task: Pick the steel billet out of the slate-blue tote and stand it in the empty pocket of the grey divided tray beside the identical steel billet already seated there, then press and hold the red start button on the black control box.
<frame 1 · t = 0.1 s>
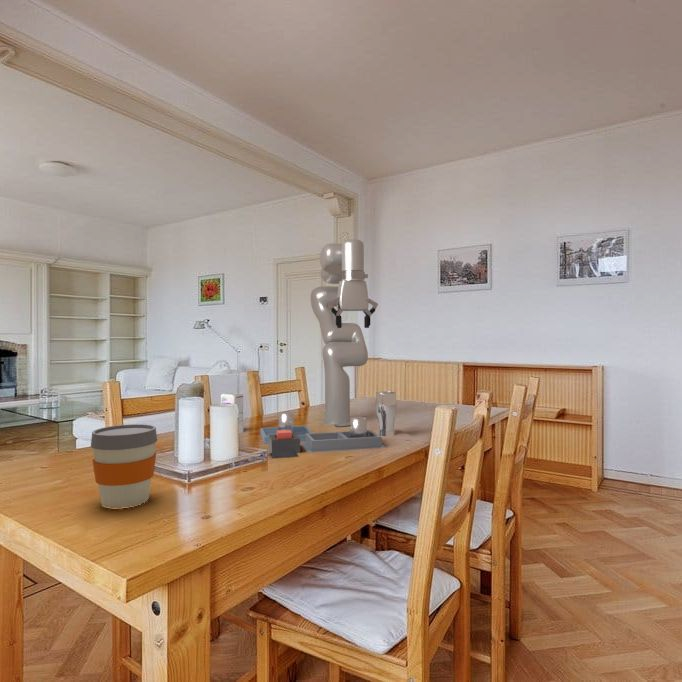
hand: (353, 327, 164), 37 cm above the table, tool pointing down, fingers open, 9 cm apart
start button: (284, 436, 140), point 5 cm above the table, slide at 0.0 cm
grey divided tray: (342, 448, 147), on the table
billet: (286, 437, 159), point 1 cm above the table, touching tote
control box: (284, 453, 140), on the table
tote: (286, 440, 159), on the table
reusable coffee cup: (125, 502, 100), on the table
seated billet: (358, 444, 148), resting on grey divided tray
syrup box: (232, 436, 166), on the table
beer glass: (386, 437, 163), on the table
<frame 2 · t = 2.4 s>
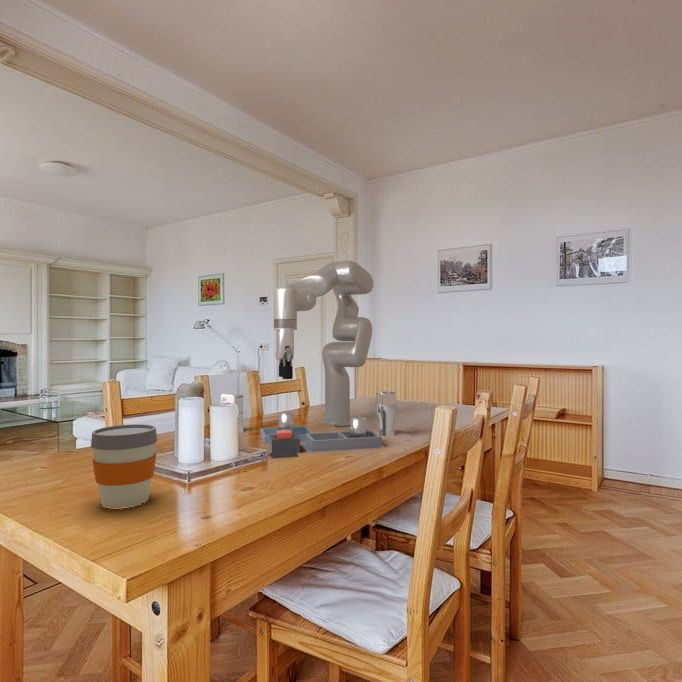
hand: (285, 377, 158), 20 cm above the table, tool pointing down, fingers open, 9 cm apart
nothing on the table moved.
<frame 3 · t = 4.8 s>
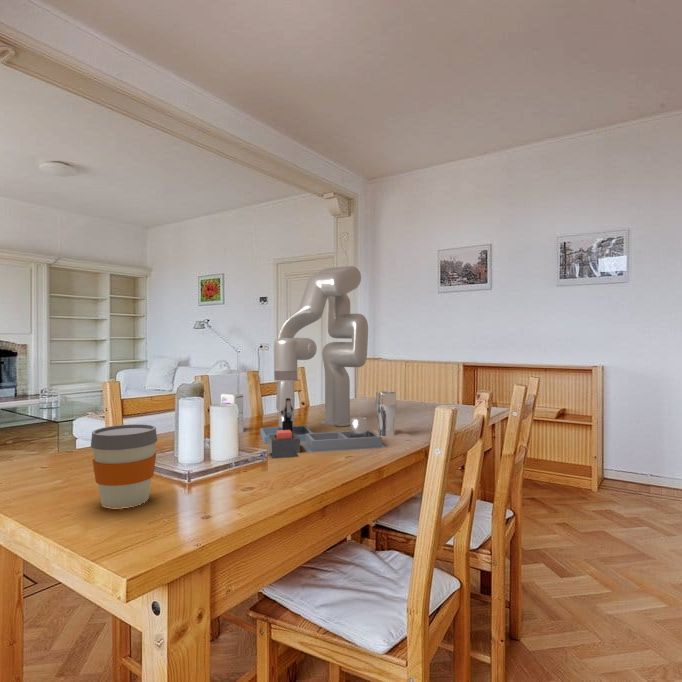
hand: (286, 431, 159), 3 cm above the table, tool pointing down, fingers closed on billet, 5 cm apart
billet: (286, 437, 159), point 1 cm above the table, touching gripper, tote
everything else where it was.
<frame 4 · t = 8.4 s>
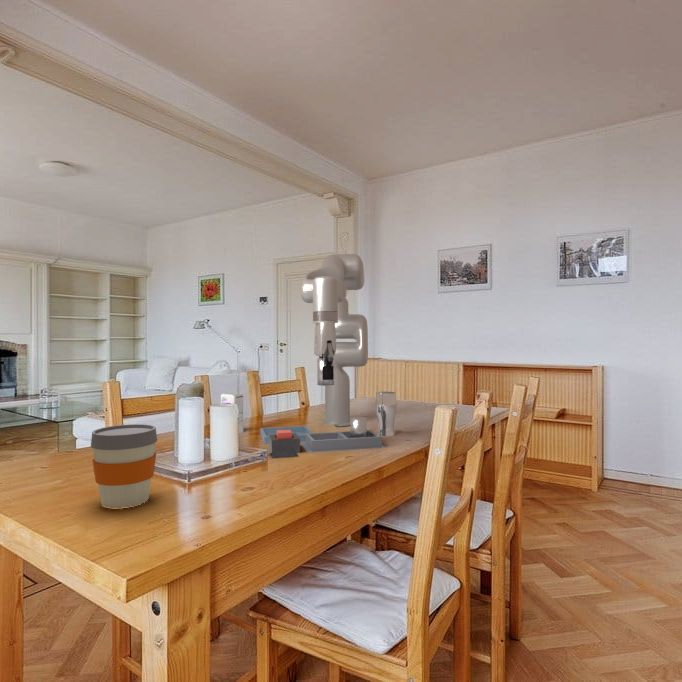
hand: (325, 378, 145), 21 cm above the table, tool pointing down, fingers closed on billet, 5 cm apart
billet: (325, 384, 145), point 19 cm above the table, touching gripper
everything else where it was.
when the fingers open (4 cm above the table, at t = 12.3 s): billet drops 1 cm, resting on grey divided tray.
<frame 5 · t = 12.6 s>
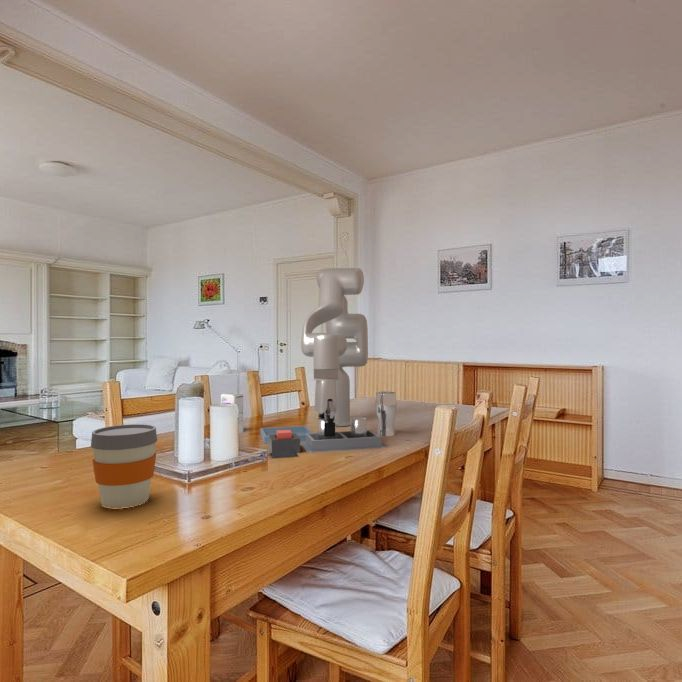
hand: (326, 433, 145), 5 cm above the table, tool pointing down, fingers open, 7 cm apart
billet: (326, 446, 145), point 1 cm above the table, touching grey divided tray
everything else where it was.
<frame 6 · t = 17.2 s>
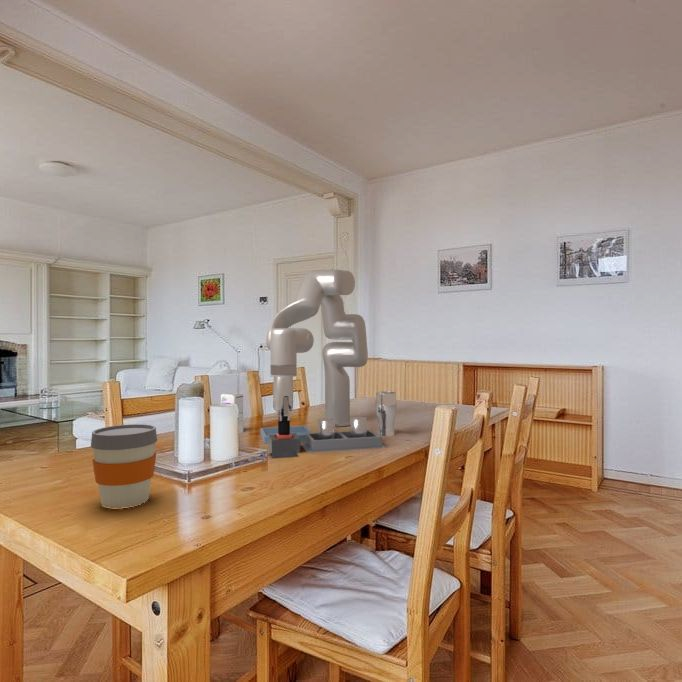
hand: (283, 434, 140), 6 cm above the table, tool pointing down, fingers closed
start button: (284, 439, 140), point 4 cm above the table, slide at 0.9 cm, touching gripper
everything else where it was.
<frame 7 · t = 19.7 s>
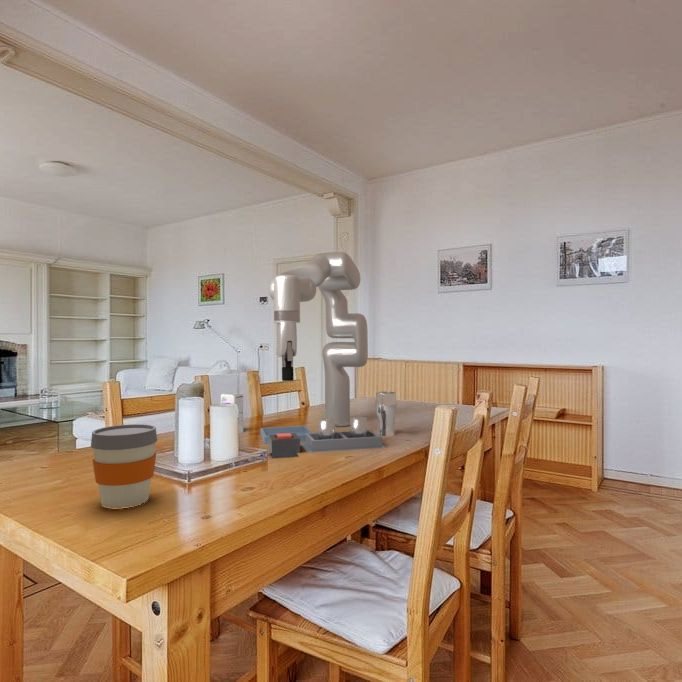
hand: (287, 380, 142), 21 cm above the table, tool pointing down, fingers closed
start button: (284, 439, 140), point 4 cm above the table, slide at 1.0 cm
everything else where it was.
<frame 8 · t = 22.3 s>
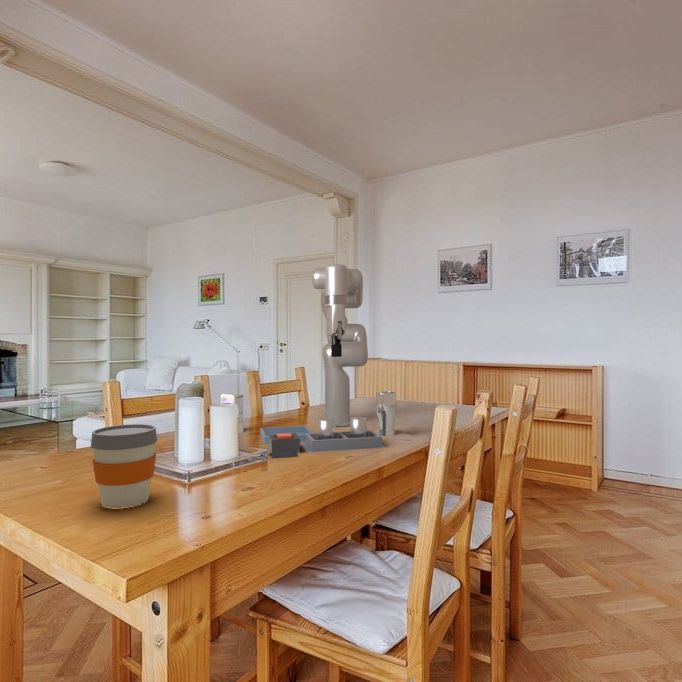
hand: (336, 356, 162), 27 cm above the table, tool pointing down, fingers closed
nothing on the table moved.
at the end: billet 0.0 cm from the target spot on the grey divided tray, point 1.0 cm above the grey divided tray's base; billet tilted 1°; start button slide at 1.0 cm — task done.
